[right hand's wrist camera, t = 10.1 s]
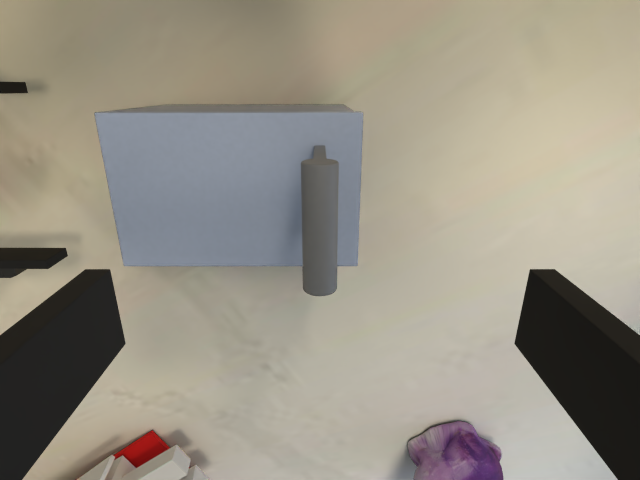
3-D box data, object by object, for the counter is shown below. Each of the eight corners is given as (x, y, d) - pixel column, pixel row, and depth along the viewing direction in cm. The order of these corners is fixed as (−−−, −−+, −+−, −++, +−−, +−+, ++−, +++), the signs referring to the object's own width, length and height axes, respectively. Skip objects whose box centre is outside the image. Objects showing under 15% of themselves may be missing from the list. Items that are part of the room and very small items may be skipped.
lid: (361, 111, 25) (381, 122, 17) (356, 260, 28) (370, 327, 21) (102, 111, 25) (-1, 122, 17) (130, 260, 28) (56, 327, 20)
